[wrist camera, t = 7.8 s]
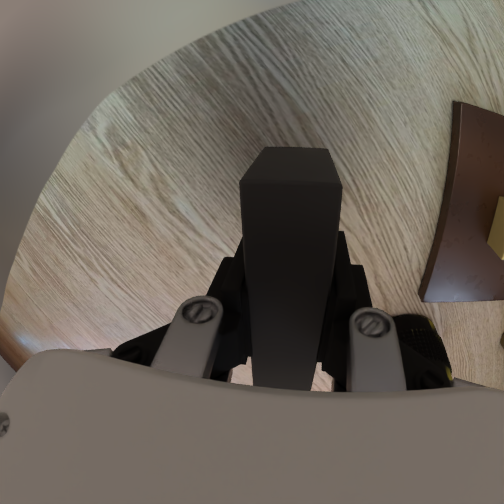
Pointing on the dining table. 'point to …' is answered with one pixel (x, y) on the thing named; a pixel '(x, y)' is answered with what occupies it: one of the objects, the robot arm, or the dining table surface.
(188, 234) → the dining table surface
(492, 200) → the cutting board
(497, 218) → the butter slice
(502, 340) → the cork
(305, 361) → the knife
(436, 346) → the container
